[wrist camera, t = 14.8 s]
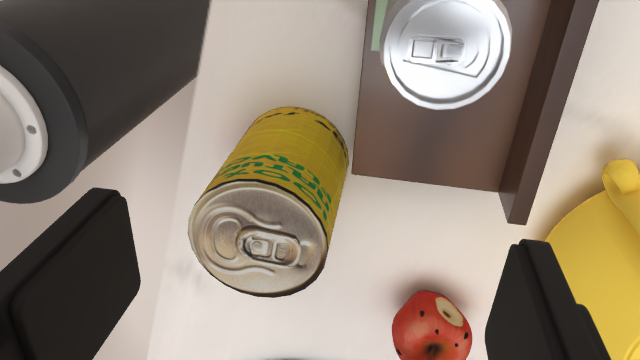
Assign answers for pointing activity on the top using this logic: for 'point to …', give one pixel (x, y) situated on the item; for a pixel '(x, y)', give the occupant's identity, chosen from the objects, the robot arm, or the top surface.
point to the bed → (477, 111)
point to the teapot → (606, 258)
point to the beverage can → (272, 205)
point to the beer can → (444, 49)
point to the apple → (431, 329)
